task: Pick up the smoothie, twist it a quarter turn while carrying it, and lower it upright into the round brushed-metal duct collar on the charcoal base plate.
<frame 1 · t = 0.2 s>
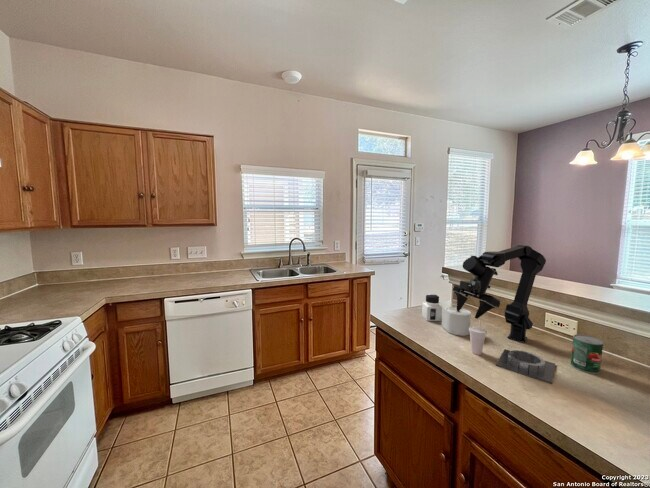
hand: (466, 314, 111), 15 cm above the worktop, tool tilted 30°, fingers open, 9 cm apart
smoothie: (476, 352, 110), on the worktop
canned tomato: (584, 368, 99), on the worktop
toilet tissue: (455, 331, 130), on the worktop
duct collar: (525, 365, 100), on the worktop
container: (431, 318, 146), on the worktop
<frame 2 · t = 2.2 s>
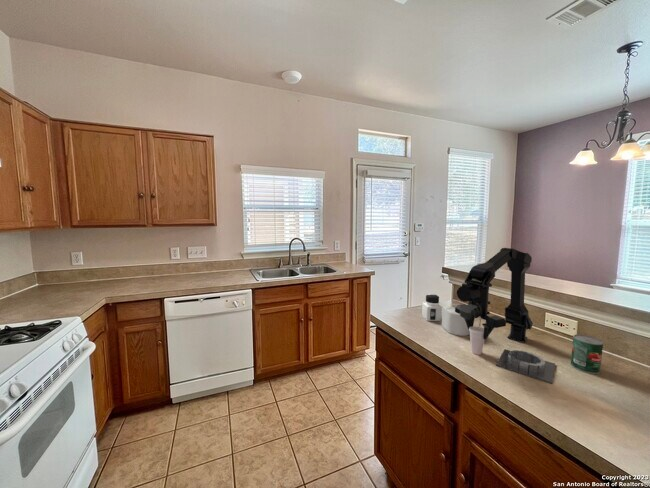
hand: (477, 335, 109), 7 cm above the worktop, tool pointing down, fingers closed on smoothie, 6 cm apart
smoothie: (476, 352, 110), on the worktop, touching gripper
everything else where it was.
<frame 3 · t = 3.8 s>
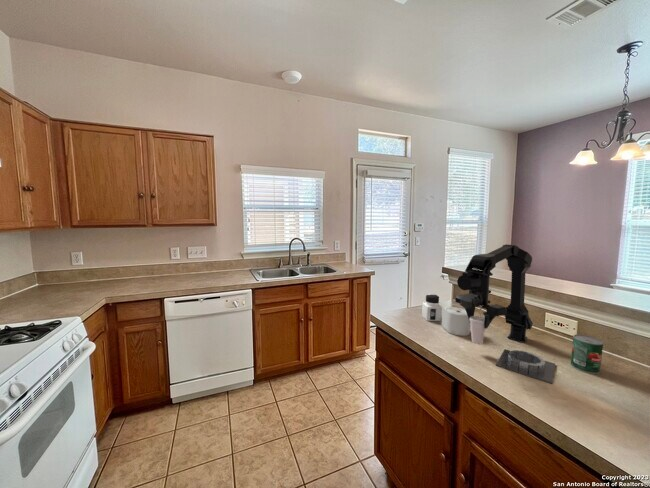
hand: (478, 325, 109), 11 cm above the worktop, tool pointing down, fingers closed on smoothie, 6 cm apart
smoothie: (476, 342, 109), point 4 cm above the worktop, touching gripper
everything else where it was.
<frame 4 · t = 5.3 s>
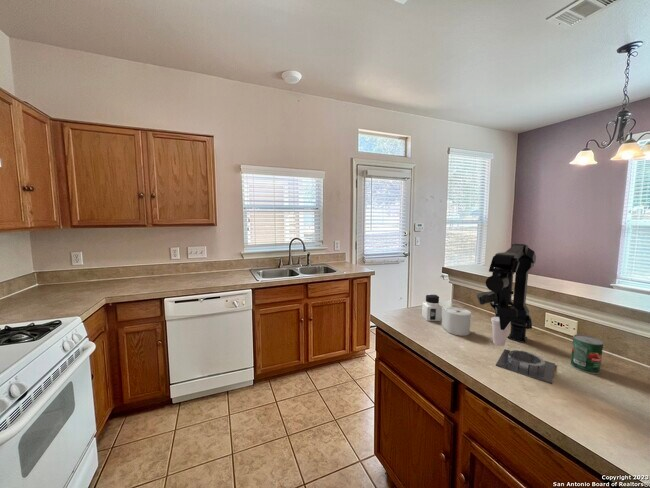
hand: (500, 326, 104), 13 cm above the worktop, tool pointing down, fingers closed on smoothie, 6 cm apart
smoothie: (498, 344, 105), point 6 cm above the worktop, touching gripper
everything else where it was.
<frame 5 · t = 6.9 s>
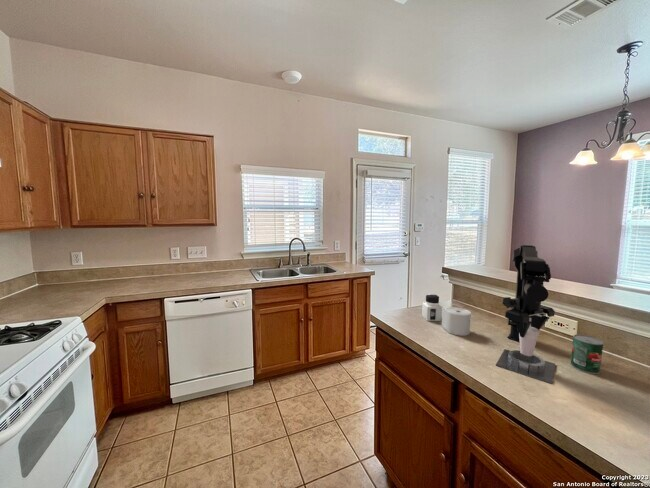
hand: (528, 335, 99), 11 cm above the worktop, tool pointing down, fingers closed on smoothie, 6 cm apart
smoothie: (526, 354, 100), point 4 cm above the worktop, touching gripper
everything else where it was.
when the fingers open (8 cm above the worktop, at t = 8.4 s): smoothie stays where it is, resting on duct collar.
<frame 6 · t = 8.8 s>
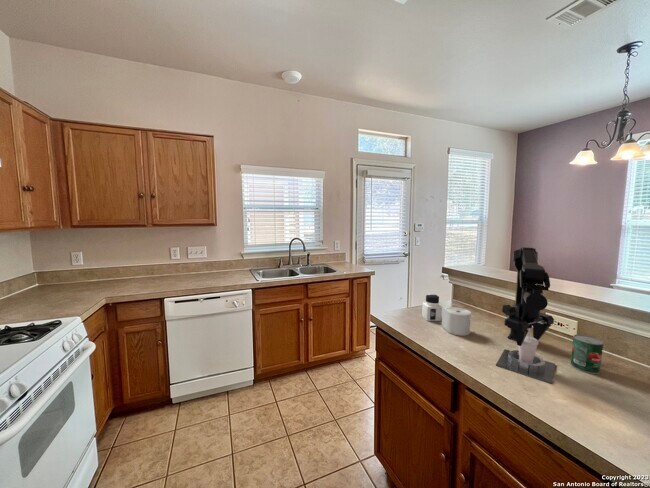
hand: (527, 343, 99), 8 cm above the worktop, tool pointing down, fingers open, 9 cm apart
smoothie: (525, 364, 100), resting on duct collar
everything else where it was.
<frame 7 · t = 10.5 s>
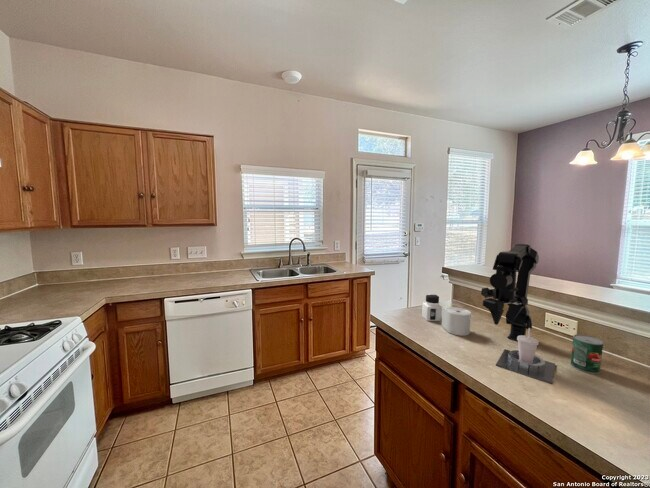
hand: (503, 322, 107), 13 cm above the worktop, tool pointing down, fingers open, 9 cm apart
nothing on the worktop moved.
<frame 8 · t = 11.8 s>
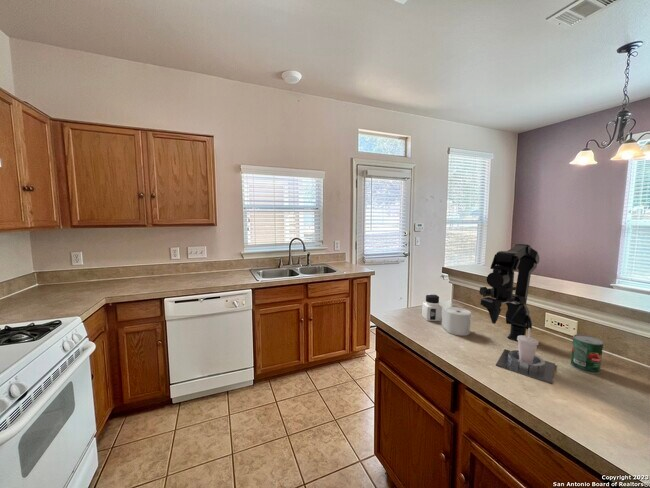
hand: (501, 321, 108), 13 cm above the worktop, tool pointing down, fingers open, 9 cm apart
nothing on the worktop moved.
at the end: smoothie 0.2 cm from the duct collar (horizontally); smoothie tilted 0°; the gripper is holding nothing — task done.
